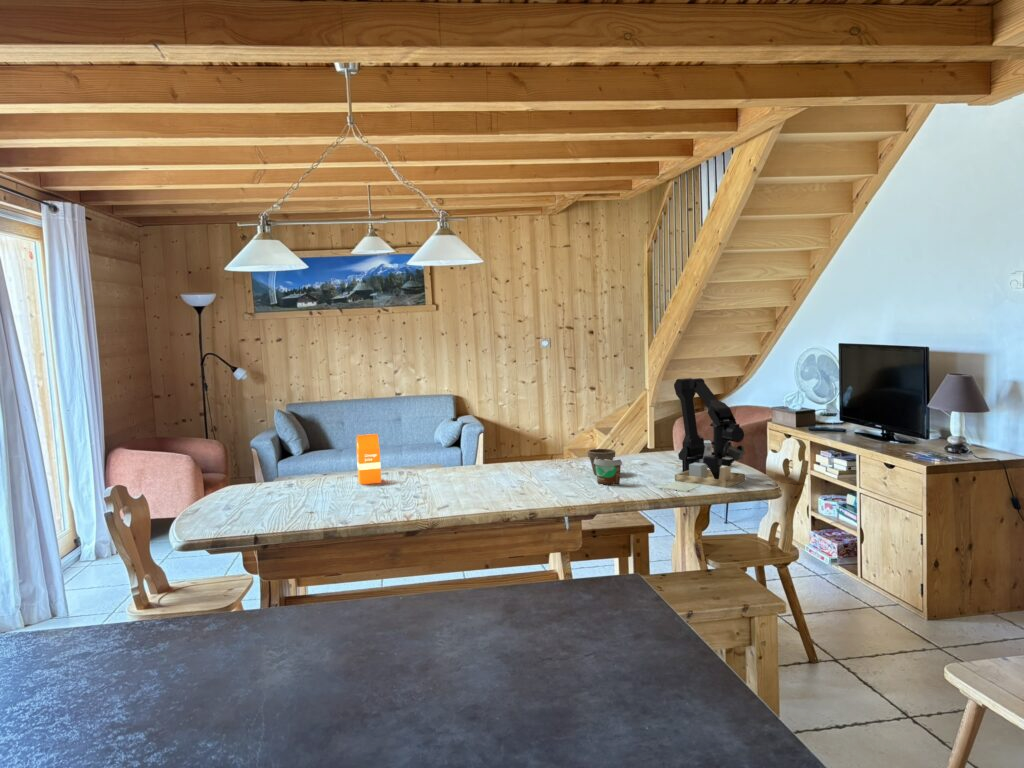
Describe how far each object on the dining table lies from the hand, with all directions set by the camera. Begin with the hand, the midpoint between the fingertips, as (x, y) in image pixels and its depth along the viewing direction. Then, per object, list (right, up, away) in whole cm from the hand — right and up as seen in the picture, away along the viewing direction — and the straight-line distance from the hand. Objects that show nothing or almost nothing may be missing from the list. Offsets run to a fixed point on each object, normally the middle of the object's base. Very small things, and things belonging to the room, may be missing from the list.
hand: (721, 479), depth 293 cm
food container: (-44, -3, +6) cm, 45 cm away
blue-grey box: (-7, -1, +7) cm, 10 cm away
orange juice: (-141, -5, +28) cm, 144 cm away
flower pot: (-43, -1, +25) cm, 50 cm away
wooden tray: (-4, -2, +3) cm, 5 cm away
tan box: (0, -1, 0) cm, 1 cm away
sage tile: (-17, -3, -5) cm, 18 cm away
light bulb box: (0, +1, +36) cm, 36 cm away
